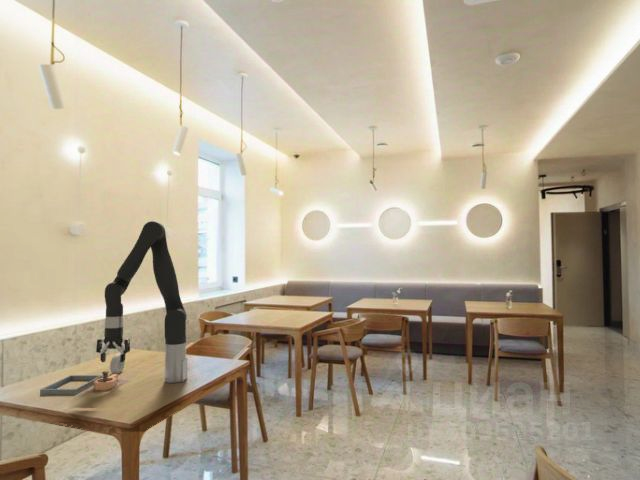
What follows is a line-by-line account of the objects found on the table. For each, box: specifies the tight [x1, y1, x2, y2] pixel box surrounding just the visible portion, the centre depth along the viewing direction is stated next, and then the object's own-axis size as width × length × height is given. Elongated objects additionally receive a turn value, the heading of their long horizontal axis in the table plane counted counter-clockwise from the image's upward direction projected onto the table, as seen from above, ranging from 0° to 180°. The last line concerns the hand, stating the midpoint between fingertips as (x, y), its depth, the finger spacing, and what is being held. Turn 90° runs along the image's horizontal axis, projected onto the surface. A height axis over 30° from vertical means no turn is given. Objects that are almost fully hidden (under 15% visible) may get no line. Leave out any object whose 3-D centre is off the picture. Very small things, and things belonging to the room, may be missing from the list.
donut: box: [109, 353, 126, 375], centre depth 200 cm, size 10×4×10 cm, turn 177°
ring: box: [92, 373, 119, 390], centre depth 180 cm, size 8×13×3 cm, turn 179°
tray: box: [39, 374, 103, 398], centre depth 178 cm, size 15×20×3 cm
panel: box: [83, 370, 130, 393], centre depth 180 cm, size 12×16×8 cm
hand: (112, 362), depth 185 cm, fingers open, 8 cm apart
